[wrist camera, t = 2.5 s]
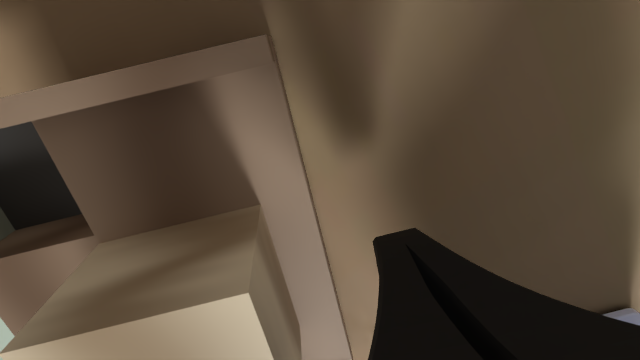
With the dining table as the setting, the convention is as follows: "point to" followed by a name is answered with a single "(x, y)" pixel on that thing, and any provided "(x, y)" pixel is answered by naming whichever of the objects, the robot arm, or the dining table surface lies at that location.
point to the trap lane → (158, 175)
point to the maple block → (171, 298)
